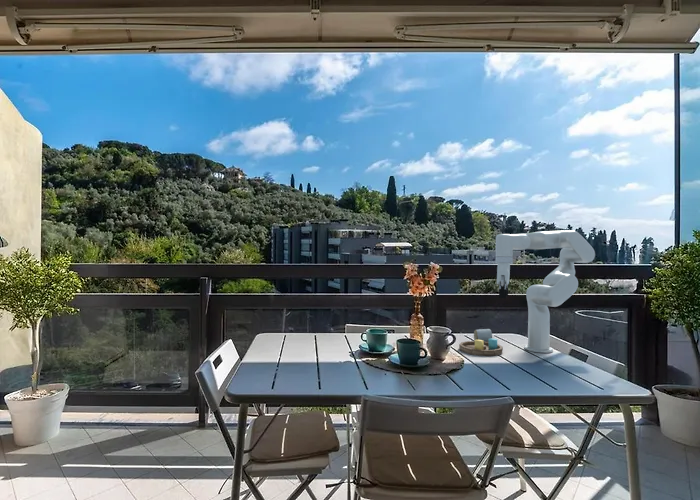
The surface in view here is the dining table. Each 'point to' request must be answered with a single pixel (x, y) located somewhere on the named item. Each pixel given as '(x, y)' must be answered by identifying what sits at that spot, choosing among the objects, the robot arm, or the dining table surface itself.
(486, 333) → the ceramic mug
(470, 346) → the groove tray
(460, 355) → the dining table surface
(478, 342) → the ochre bead
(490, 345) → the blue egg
